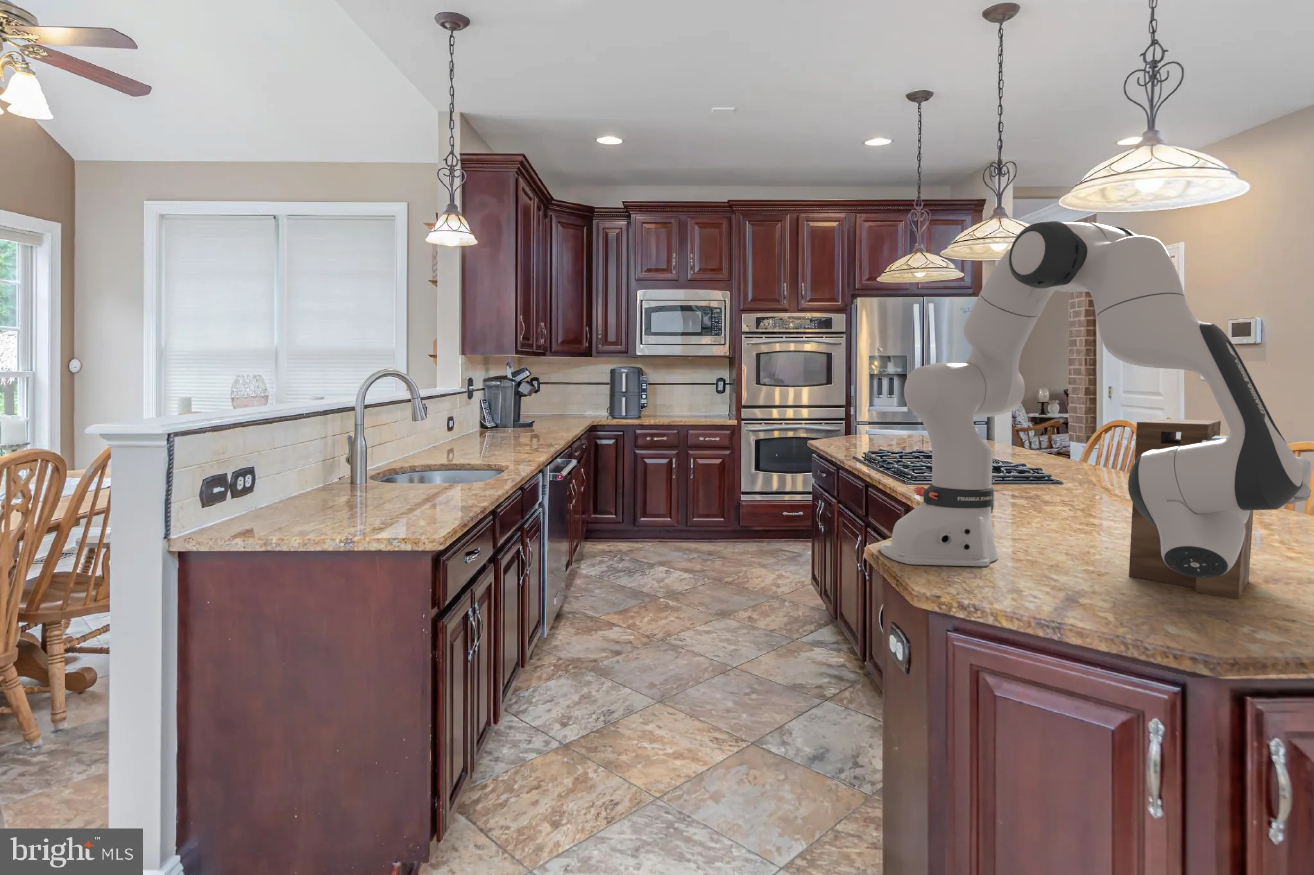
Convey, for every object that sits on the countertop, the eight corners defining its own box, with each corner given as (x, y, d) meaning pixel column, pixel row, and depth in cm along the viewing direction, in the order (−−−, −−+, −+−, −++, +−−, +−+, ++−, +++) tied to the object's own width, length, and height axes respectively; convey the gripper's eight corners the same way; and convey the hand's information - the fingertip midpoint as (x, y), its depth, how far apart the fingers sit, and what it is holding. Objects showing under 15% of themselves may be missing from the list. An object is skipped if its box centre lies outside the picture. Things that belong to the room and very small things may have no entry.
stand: (1238, 598, 112) (1249, 426, 109) (1125, 579, 123) (1133, 422, 120) (1250, 577, 123) (1260, 421, 121) (1146, 562, 134) (1153, 418, 132)
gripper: (1309, 486, 95) (1317, 431, 102) (1132, 472, 109) (1151, 425, 117) (1308, 521, 97) (1316, 465, 105) (1135, 504, 112) (1153, 456, 120)
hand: (1227, 444), depth 111 cm, fingers closed on plug, 3 cm apart
